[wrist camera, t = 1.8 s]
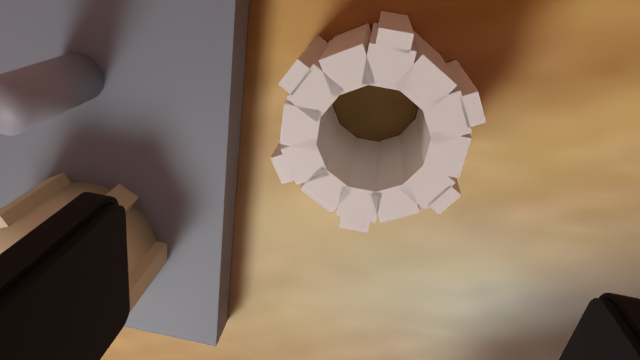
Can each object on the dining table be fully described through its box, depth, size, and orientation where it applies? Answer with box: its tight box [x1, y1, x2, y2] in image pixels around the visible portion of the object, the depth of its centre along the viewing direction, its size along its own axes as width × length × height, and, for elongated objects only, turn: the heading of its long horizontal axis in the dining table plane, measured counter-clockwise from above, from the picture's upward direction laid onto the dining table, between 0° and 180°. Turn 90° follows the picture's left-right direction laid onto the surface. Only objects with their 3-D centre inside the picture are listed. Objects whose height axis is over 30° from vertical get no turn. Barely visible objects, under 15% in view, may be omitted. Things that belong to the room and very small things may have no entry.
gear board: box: [0, 0, 250, 346], centre depth 19 cm, size 22×13×8 cm, turn 172°
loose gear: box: [270, 11, 486, 233], centre depth 18 cm, size 7×7×5 cm
